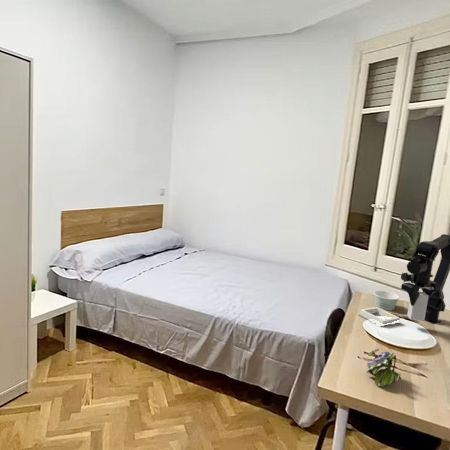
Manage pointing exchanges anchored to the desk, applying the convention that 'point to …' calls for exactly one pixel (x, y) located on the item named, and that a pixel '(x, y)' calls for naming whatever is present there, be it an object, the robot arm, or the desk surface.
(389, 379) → the passion flower
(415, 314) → the skincare box
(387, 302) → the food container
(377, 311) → the white shallow square tray
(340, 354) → the desk surface
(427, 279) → the robot arm
